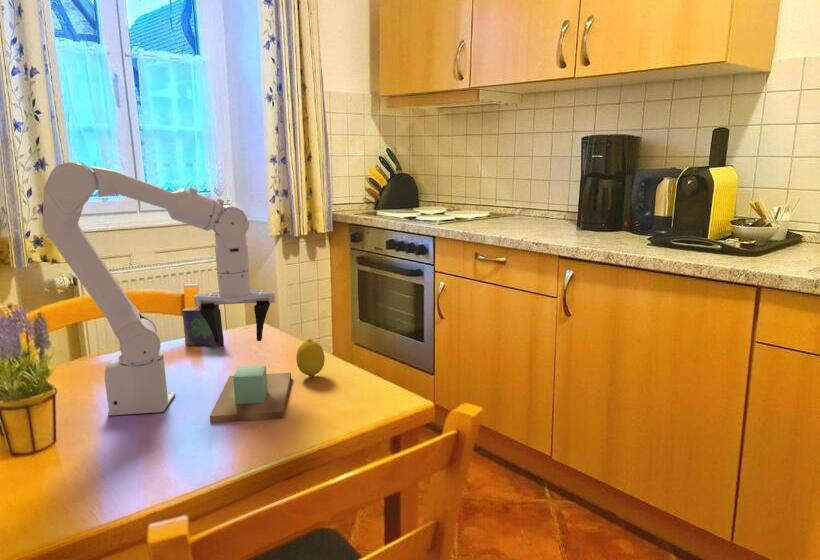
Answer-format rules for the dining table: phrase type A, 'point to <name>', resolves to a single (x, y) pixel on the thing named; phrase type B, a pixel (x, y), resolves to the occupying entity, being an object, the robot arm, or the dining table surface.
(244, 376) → the block
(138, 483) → the dining table surface
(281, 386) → the board
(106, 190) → the robot arm
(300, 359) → the lemon
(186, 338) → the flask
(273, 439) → the dining table surface
